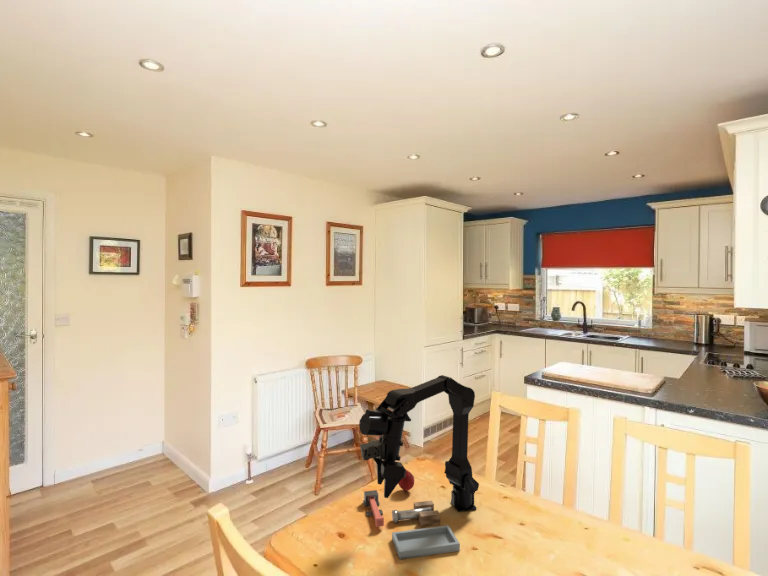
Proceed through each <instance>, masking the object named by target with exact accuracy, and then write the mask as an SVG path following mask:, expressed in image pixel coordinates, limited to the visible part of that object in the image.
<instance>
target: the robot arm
mask: <svg viewBox="0 0 768 576" xmlns="http://www.w3.org/2000/svg"><path fill="white" fill-rule="evenodd" d="M443 392H444V393H446V394H447V396H448V405H449V406H450V407H451V410H452V444H451V447H452V448H451V456H450V458H449V460H445V463H444V466H445V468H444V474H445V476H446V479H448V483H449V485H452V490H451V492H450V493H451V500H450V502H451V504H452V506H453V507H454V509H456V511H457V512H458V513H459V512H468V511H476V510H477V507H476V505H475V493H476V492H477V491H478V490H479V488H480V487H479V486H480V483H479V482H478V481H477V480H476V479H475V478H474V477H473V468H472V466H471V463H470V461H469V458H468V451H469V450H468V446H469V445H468V443H469V442H468V441H469V415H470V412H471V411H472V409H473V408H474V405H475V399H476V398H475V397H476V395H475V390H474V389H472V388H471V387H469V386H466V385H463V384H462V383H459V382H458V381H456V380H455V379H454V378H452V377H450V376H447V375H444V374H443V375H439V376H437V377H434V378H433V379H430V380H428V381H425V382H423V383H420V384H418V385H415V386H413V387H408V388H397V389H391V390H389V391H388V392H387V393H386V396H385V398H384V399H383V400H382V401H381V402H380V404H379V405H378V406H377V408H376V409H375V410H373V409H369V408H368V409H367V408H366V410H365V413H363V414H362V415H361V418H360V419H359V423H358V425H359V426H358V428H359V432H360V434H361V435H362V436H379V437H378V440H375V441H369V442H366V443H362V444H360V452H361V453H360V454H361V457H362V460H363V461H369V460H371V459H373V460H374V462H375V463H376V474H377V475H376V476H377V477H376V479H377V484H378V485H382V484H383V497H384V498H385V499H388V498H389V497H390V496H391V494H392V492H393V491H394V490H395V488H396V487H397V486H398V485H399V484H398V483H399V482H400V480H401V479H403V478H405V476H406V469H407V468H406V467H404V465H403V464H402V462H400V461H401V455H400V451H401V447H403V445H404V442H403V441H402V440H403V432H404V427H405V422H411V421H412V418H411V417H410V416H409V415H408V413H409V412H411V411H412V410H413V409H415V408H416V406H417V405H418V404H419V403H420V402H423V401H425V400H427V399H430V398H431V397H434V396H436V395H439V394H441V393H443ZM405 468H406V469H405ZM383 482H384V483H383Z"/></svg>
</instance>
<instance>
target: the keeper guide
mask: <svg viewBox="0 0 768 576" xmlns="http://www.w3.org/2000/svg"><path fill="white" fill-rule="evenodd" d="M369 497H374V498H375V501H376V504H377V507H378V506H380V501H379V493H378V490H377V489H375V490H373V489H372V490H365V491H363V500H362V504H363V506H364V508H368V507H370V508H371V506H370V503H369V500H368V498H369ZM365 512H366V513H365V514H366V517H374V515H373V512H372V510H366V511H365ZM379 512H380V515H381V516H384V512H383V509H381V508H380V509H379Z"/></svg>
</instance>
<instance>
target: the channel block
mask: <svg viewBox="0 0 768 576" xmlns="http://www.w3.org/2000/svg"><path fill="white" fill-rule="evenodd" d="M427 507H431V508H432V511H428V512H420V513H419V518H416V519H417V521H418V522H419V525H420V527H427V526H436V525H441V514H440V512H439V510H437V509H436V510H435V504H434V502H433V500H424V501H416V502H413V509H419V508H427Z"/></svg>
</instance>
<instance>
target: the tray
mask: <svg viewBox="0 0 768 576" xmlns="http://www.w3.org/2000/svg"><path fill="white" fill-rule="evenodd" d="M391 539H392V540H391V541H392V543H393V546H394V549H395V551H396V554H397V557H398V559H399V560H406V559H412V558H419V557H427V556H434V555H441V554H446V553H453V552H460V551H461V547H460V546H461V543H460V542H459V540H458V538H457V537H456V535H455V533H454V532H453V530H452V529H451V527H450V526H449V524H448V525H447V524H446V525H439V526H432V527H424V528H416V529H409V530H401V531H393V532H391Z"/></svg>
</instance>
